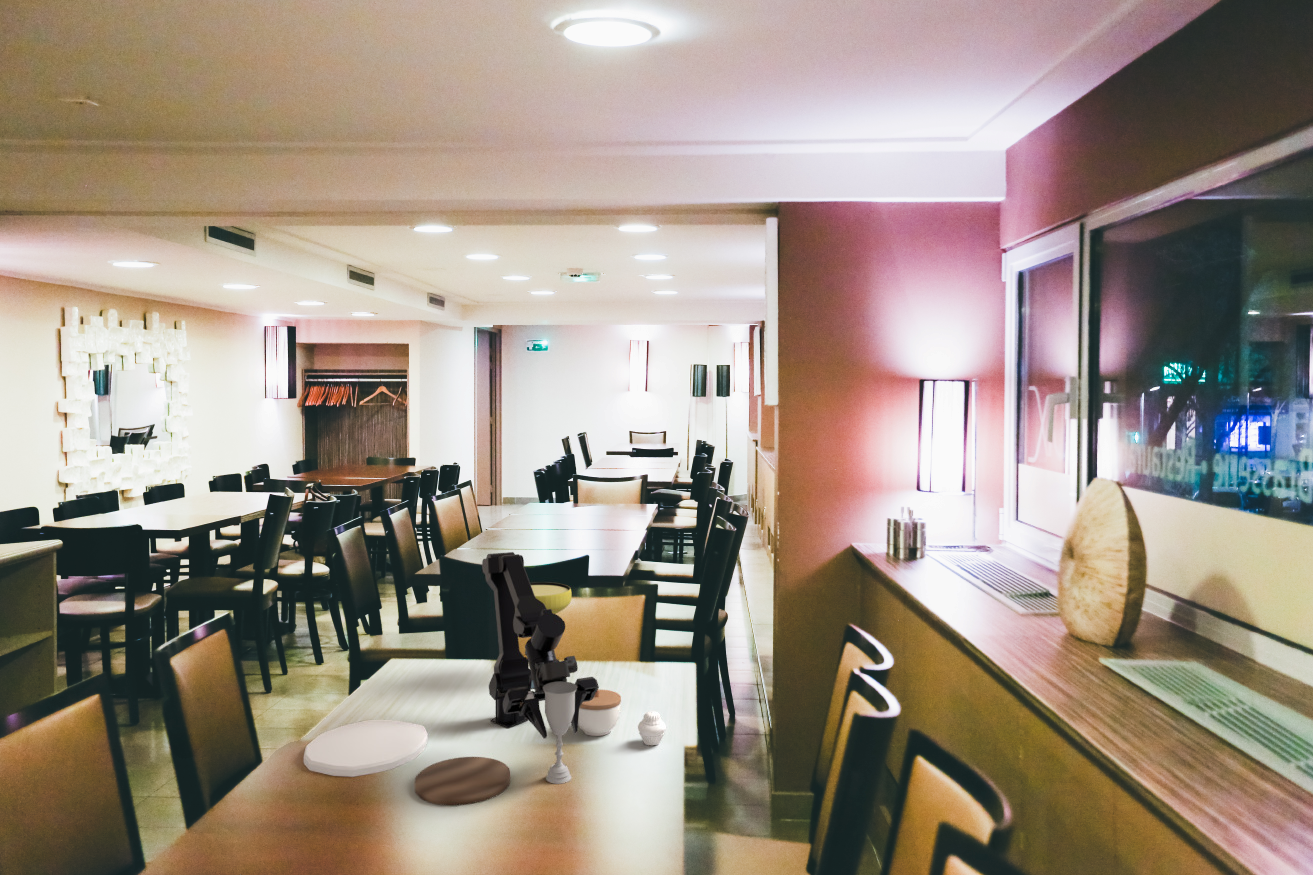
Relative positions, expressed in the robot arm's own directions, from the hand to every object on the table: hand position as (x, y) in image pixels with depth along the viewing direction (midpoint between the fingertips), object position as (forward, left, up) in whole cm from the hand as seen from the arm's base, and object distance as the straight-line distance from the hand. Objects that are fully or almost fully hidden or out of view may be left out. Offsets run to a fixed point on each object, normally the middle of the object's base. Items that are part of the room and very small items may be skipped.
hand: (561, 734), depth 163 cm
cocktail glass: (-46, +40, -9) cm, 62 cm away
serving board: (-14, -12, -9) cm, 21 cm away
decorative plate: (-43, -14, -10) cm, 47 cm away
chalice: (-1, +1, -9) cm, 9 cm away
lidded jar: (-11, +24, -9) cm, 28 cm away
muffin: (+3, +26, -9) cm, 27 cm away
